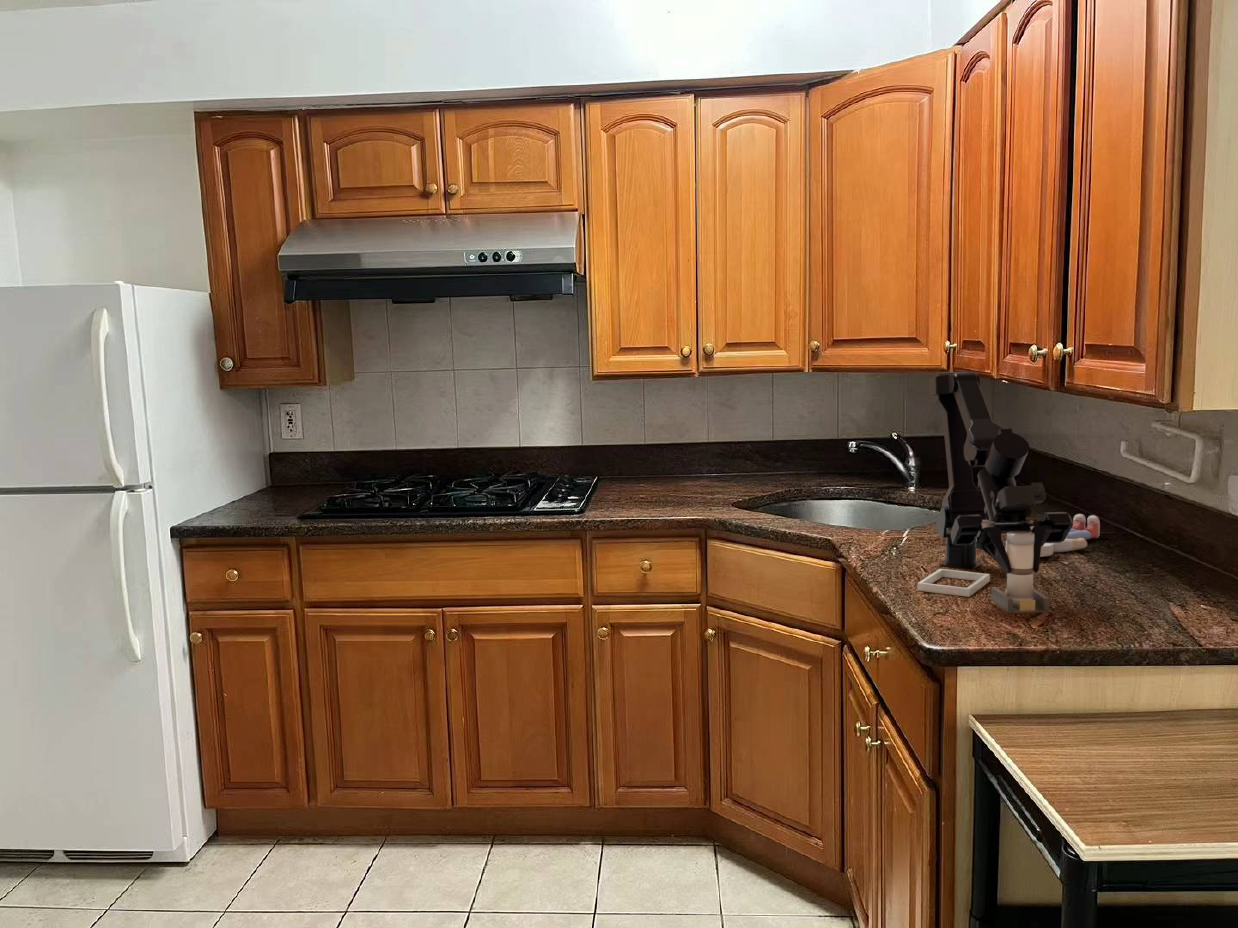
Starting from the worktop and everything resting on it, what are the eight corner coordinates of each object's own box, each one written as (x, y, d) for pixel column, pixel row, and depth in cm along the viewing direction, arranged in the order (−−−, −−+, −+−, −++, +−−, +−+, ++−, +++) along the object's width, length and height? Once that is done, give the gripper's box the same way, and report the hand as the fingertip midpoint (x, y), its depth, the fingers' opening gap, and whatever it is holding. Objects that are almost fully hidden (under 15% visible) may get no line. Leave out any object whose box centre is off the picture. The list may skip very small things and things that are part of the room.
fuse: (1009, 599, 163) (1010, 529, 161) (1036, 603, 160) (1037, 532, 159) (1002, 605, 160) (1003, 534, 158) (1029, 609, 157) (1030, 536, 156)
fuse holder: (988, 604, 165) (989, 586, 164) (1030, 603, 164) (1030, 585, 164) (1007, 619, 156) (1007, 600, 155) (1051, 618, 155) (1052, 599, 155)
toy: (1058, 511, 219) (989, 528, 200) (1116, 517, 209) (1049, 536, 190) (1058, 536, 219) (988, 555, 200) (1115, 543, 210) (1048, 564, 190)
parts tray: (940, 581, 181) (940, 568, 181) (989, 587, 176) (989, 574, 175) (917, 596, 171) (917, 583, 171) (969, 603, 166) (969, 589, 166)
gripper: (955, 468, 161) (976, 546, 152) (1069, 464, 161) (1097, 543, 151) (942, 506, 170) (960, 583, 161) (1050, 503, 169) (1075, 580, 160)
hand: (1023, 571), depth 158 cm, fingers closed on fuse, 4 cm apart
